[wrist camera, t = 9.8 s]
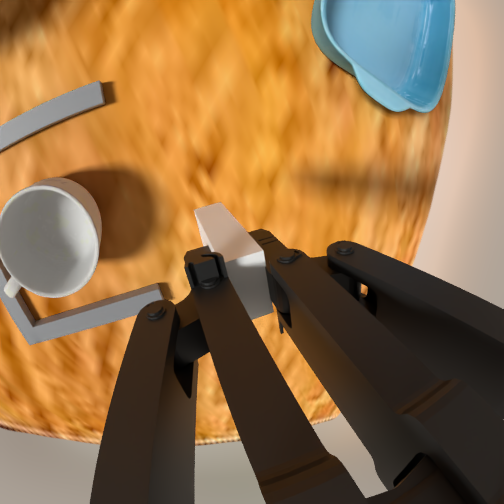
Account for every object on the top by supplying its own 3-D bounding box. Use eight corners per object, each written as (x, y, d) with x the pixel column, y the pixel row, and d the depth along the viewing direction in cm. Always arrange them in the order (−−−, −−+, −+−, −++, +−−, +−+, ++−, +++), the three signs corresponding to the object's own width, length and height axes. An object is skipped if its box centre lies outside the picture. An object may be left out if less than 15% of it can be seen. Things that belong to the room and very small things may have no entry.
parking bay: (101, 82, 23) (99, 80, 22) (164, 299, 35) (165, 306, 34) (-44, 158, 18) (-50, 160, 17) (32, 338, 30) (29, 345, 29)
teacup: (78, 152, 25) (55, 159, 18) (127, 234, 30) (121, 265, 23) (-5, 222, 24) (-37, 248, 17) (43, 291, 29) (25, 330, 22)
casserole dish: (399, 137, 37) (435, 143, 31) (271, 65, 28) (301, 52, 22) (430, -17, 26) (458, -22, 20) (337, -88, 17) (361, -104, 11)
